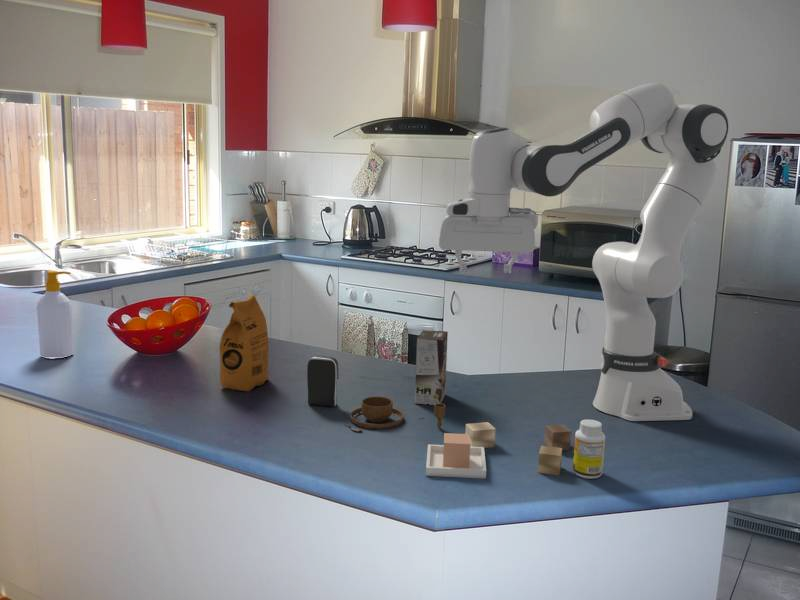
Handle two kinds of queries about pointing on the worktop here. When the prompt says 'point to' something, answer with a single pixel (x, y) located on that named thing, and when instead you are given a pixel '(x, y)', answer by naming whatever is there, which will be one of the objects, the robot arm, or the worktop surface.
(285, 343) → the worktop surface
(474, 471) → the tray
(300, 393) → the worktop surface
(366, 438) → the worktop surface
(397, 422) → the place setting
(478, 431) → the beech block
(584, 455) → the supplement bottle
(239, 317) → the coffee package
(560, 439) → the walnut block
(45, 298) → the soap bottle
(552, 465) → the oak block
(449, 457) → the terracotta block
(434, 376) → the coffee box
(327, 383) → the battery charger
